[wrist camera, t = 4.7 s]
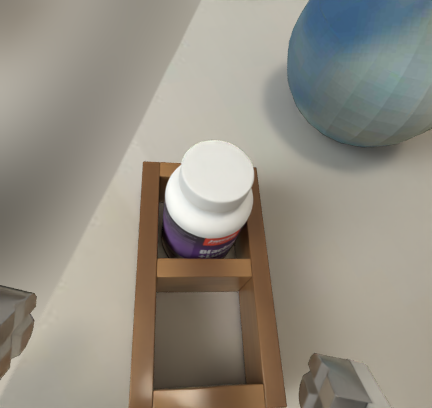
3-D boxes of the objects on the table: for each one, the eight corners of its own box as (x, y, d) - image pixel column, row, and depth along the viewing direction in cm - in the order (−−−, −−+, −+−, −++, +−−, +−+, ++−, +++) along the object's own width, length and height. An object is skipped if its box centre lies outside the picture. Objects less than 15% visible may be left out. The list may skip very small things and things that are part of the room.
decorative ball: (357, 61, 40) (455, -93, 27) (430, 162, 34) (600, 28, 21) (243, 75, 36) (296, -102, 23) (305, 194, 30) (423, 48, 17)
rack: (131, 413, 20) (127, 419, 17) (144, 189, 28) (143, 160, 24) (265, 403, 22) (287, 407, 18) (243, 193, 29) (256, 167, 25)
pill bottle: (198, 286, 25) (223, 235, 16) (146, 237, 26) (144, 165, 17) (243, 238, 27) (286, 171, 19) (195, 195, 28) (214, 113, 20)
